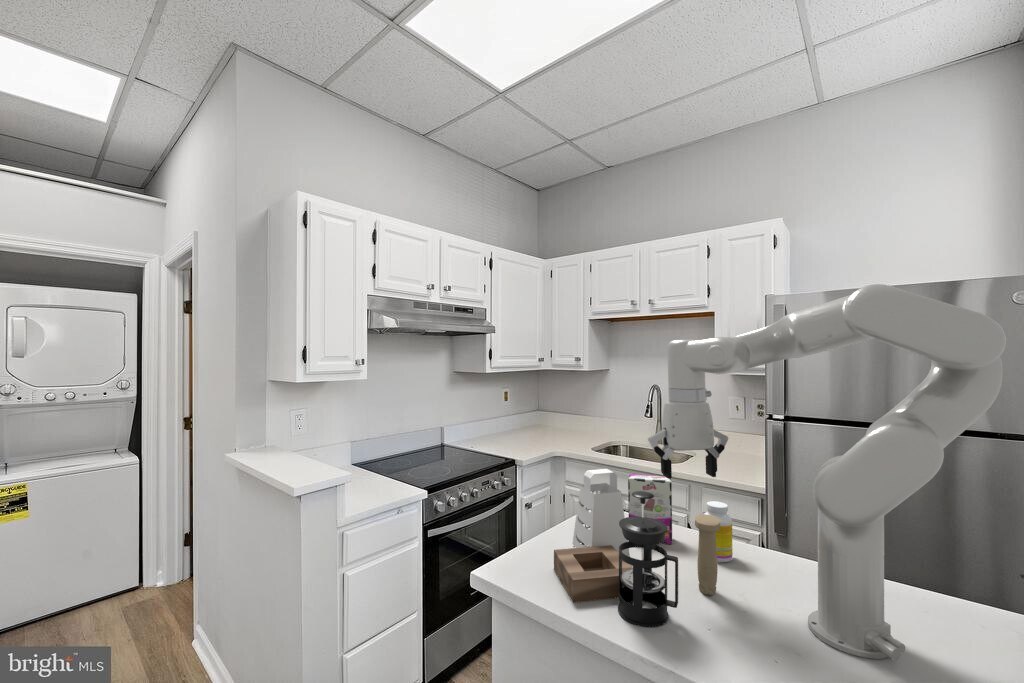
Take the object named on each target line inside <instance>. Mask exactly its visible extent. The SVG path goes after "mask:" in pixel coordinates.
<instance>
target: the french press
mask: <svg viewBox="0 0 1024 683" xmlns="http://www.w3.org/2000/svg"><path fill="white" fill-rule="evenodd" d="M632 496H634V497H636V498H640V503H641V504H642V517H629V516H627V517H625V518H623V519H621V520H620V521H619V526H620V528H622V533H623V536H624V538H625V539H626V540H628V542H624V543H622V544H621V545H620V546H619V598H618V605H617V612H618V614H619V617H621V618H622V619H623V620H624V621H626V622H627V623H630V624H631V625H634V626H638V627H640V628H659V627H661V626H663V625H665V624H666V623H668V621H669V612H668V607H670V608H673V609H676V608H677V607H678V604H679V558H678V556H675V555H670V554H668V552H667V550H666V548H664V547H663V546H661V544H663V543H662V542H663V541H664V540H665V533H666V531H667V526H666V525H665V524H664V523H663V522H661V521H658V520H656V519H652V518H647V517H644V504H645V499H651V498H653V497H654V495H653V494H652V493H649V492H645V491H636V492H633V493H632ZM659 544H660V545H659ZM628 548H629V549H633V548H635V549H636V548H640V549H641V559H638V558H634V557H631V556H630V557H629V556H627V555H625V554H623V553H622V551H623V550H625V549H628ZM653 551H655V552H657V553H659V554H661V555H662V556H663V557H662V558H660V559H655V560H653V556H652V555H653ZM622 560H623V561H624V562H626V563H628V564H629V565H630V566H632V568H633V569H631V570H627V571H624V572H623V573H622ZM668 561H670V562H674V586H675V587H674V600H670V599H668ZM661 567H662V568H663V567H664V577H663V576H662V575H660V574H659V573H656V572H655V571H653V569H658V568H661ZM622 583H623V585H624V586H623V587H622ZM663 591H664V592H663ZM643 603H646V604H649V605H651V606H654V607H644V604H643Z"/></svg>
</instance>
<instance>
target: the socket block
mask: <svg viewBox="0 0 1024 683" xmlns="http://www.w3.org/2000/svg"><path fill="white" fill-rule="evenodd" d="M631 569H633V566H632V565H630V564H628V563H626V562H624V561H623V560H622V573H623V572H624V571H627V570H631ZM553 571H554V572H555V574H556V576H557V577H558V579H559V581H560V583H561V584H562V586H563V588H564V590H565V591H566V593H567V595H568V597H569V598H570V600H571V601H572V603H575V604H576V603H582V602H594V601H604V600H612V599H619V553H618V552H617V551H616V550H615V549H614V547H613V546H612V545H607V546H595V547H589V546H584V547H582V548H574V547H573V548H560V549H554V550H553ZM623 586H624V585H623V583H622V587H623Z"/></svg>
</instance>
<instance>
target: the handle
mask: <svg viewBox="0 0 1024 683" xmlns="http://www.w3.org/2000/svg"><path fill="white" fill-rule="evenodd" d="M694 527H695V528H697V529H698V545H697V547H698V548H697V561H696V562H697V579H698V589H699V591H700V592H702V594H703V595H708V596H712V595H713V594H716V592H717V582H718V562H717V549H716V531H718V530H720V520H719V519H718V518H717V517H715V516H712V515H706V514H704V513H703V514H702V513H700V514H697V515H695V517H694Z"/></svg>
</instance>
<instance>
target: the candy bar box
mask: <svg viewBox="0 0 1024 683" xmlns="http://www.w3.org/2000/svg"><path fill="white" fill-rule="evenodd" d="M672 483H673V482H672V478H671V479H668V478H666V477H665V476H663V475H662V476H661V475H660V476H659V475H647V474H635V473H633V474H632V473H629V475H628V478H627V487H628V488H627V489H628V490H627V491H628V494H627V495H628V496H627V497H628V501H627V502H628V507H627V508H628V510H627V512H628V517H642V504H641V503H640V498H636V497H634V496H632V493H633V492H636V491H645V492H649V493H652V494H653V495H654V497H653V498H651V499H645V504H644V517H647V518H652V519H656V520H658V521H661V522H663V523H664V524H665V525H666V526H667V531H666V533H665V540H664V541H663V542H662V543H661V544H664V543H666V545H667V544H668V545H672V544H673V505H672V504H673V495H672V493H673V492H672V491H673V490H672V488H673V487H672V485H673V484H672Z"/></svg>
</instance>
